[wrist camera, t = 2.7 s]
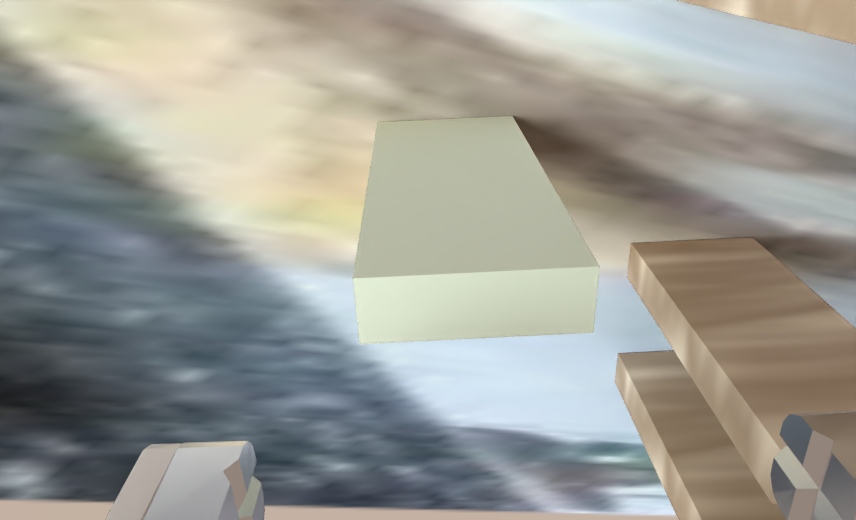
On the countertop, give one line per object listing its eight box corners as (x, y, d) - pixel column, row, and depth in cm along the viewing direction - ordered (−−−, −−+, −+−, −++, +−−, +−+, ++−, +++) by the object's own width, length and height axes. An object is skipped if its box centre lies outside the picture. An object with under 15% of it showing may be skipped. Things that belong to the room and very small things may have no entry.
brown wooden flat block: (631, 243, 26) (785, 457, 15) (752, 237, 26) (990, 446, 16) (626, 277, 27) (771, 504, 16) (745, 271, 27) (967, 494, 16)
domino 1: (377, 122, 24) (352, 278, 13) (512, 115, 24) (599, 266, 13) (380, 163, 24) (360, 343, 14) (511, 157, 24) (593, 332, 14)
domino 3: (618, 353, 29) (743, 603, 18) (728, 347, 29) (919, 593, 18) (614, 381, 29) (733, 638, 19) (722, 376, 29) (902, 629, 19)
